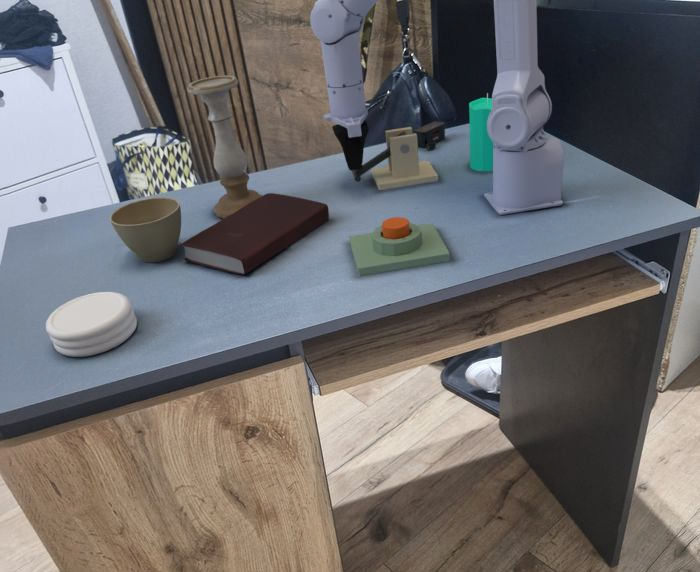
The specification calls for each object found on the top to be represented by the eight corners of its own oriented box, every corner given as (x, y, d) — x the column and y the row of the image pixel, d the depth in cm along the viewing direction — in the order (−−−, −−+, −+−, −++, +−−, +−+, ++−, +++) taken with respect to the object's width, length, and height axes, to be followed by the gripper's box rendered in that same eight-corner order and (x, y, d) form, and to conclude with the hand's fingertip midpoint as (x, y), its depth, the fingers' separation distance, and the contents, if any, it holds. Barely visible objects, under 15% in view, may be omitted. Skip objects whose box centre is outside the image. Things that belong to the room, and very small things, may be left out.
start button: (407, 227, 87) (406, 215, 86) (412, 238, 84) (411, 225, 83) (381, 231, 87) (379, 219, 86) (385, 242, 84) (384, 230, 83)
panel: (433, 230, 91) (432, 210, 90) (450, 261, 83) (449, 240, 81) (350, 244, 91) (347, 224, 89) (359, 276, 83) (356, 255, 81)
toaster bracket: (379, 191, 106) (374, 144, 102) (372, 175, 113) (367, 130, 108) (438, 182, 106) (436, 134, 102) (427, 166, 113) (425, 121, 108)
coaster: (58, 369, 73) (46, 344, 71) (52, 330, 81) (41, 306, 79) (144, 340, 76) (135, 315, 74) (131, 305, 84) (122, 281, 82)
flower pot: (133, 278, 90) (116, 231, 86) (120, 253, 98) (104, 209, 94) (200, 256, 94) (187, 210, 90) (182, 234, 101) (169, 191, 97)
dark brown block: (411, 149, 122) (410, 132, 120) (435, 138, 125) (434, 121, 123) (430, 152, 119) (429, 135, 117) (454, 141, 122) (453, 124, 121)
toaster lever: (358, 186, 107) (351, 175, 105) (355, 176, 111) (347, 165, 109) (415, 149, 104) (408, 137, 103) (409, 140, 108) (402, 128, 107)
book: (331, 221, 98) (328, 201, 96) (246, 278, 86) (241, 256, 84) (270, 210, 105) (266, 191, 103) (183, 262, 93) (177, 241, 91)
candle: (465, 163, 112) (464, 91, 105) (499, 158, 112) (500, 86, 105) (474, 174, 107) (474, 100, 100) (510, 169, 107) (511, 94, 100)
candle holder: (234, 197, 112) (205, 74, 100) (276, 200, 108) (252, 73, 97) (205, 218, 106) (170, 89, 94) (249, 221, 102) (219, 88, 91)
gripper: (316, 77, 106) (327, 158, 113) (323, 98, 94) (335, 187, 101) (358, 71, 106) (367, 152, 113) (370, 90, 94) (379, 180, 101)
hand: (355, 168), depth 107 cm, fingers closed, pressing on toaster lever
